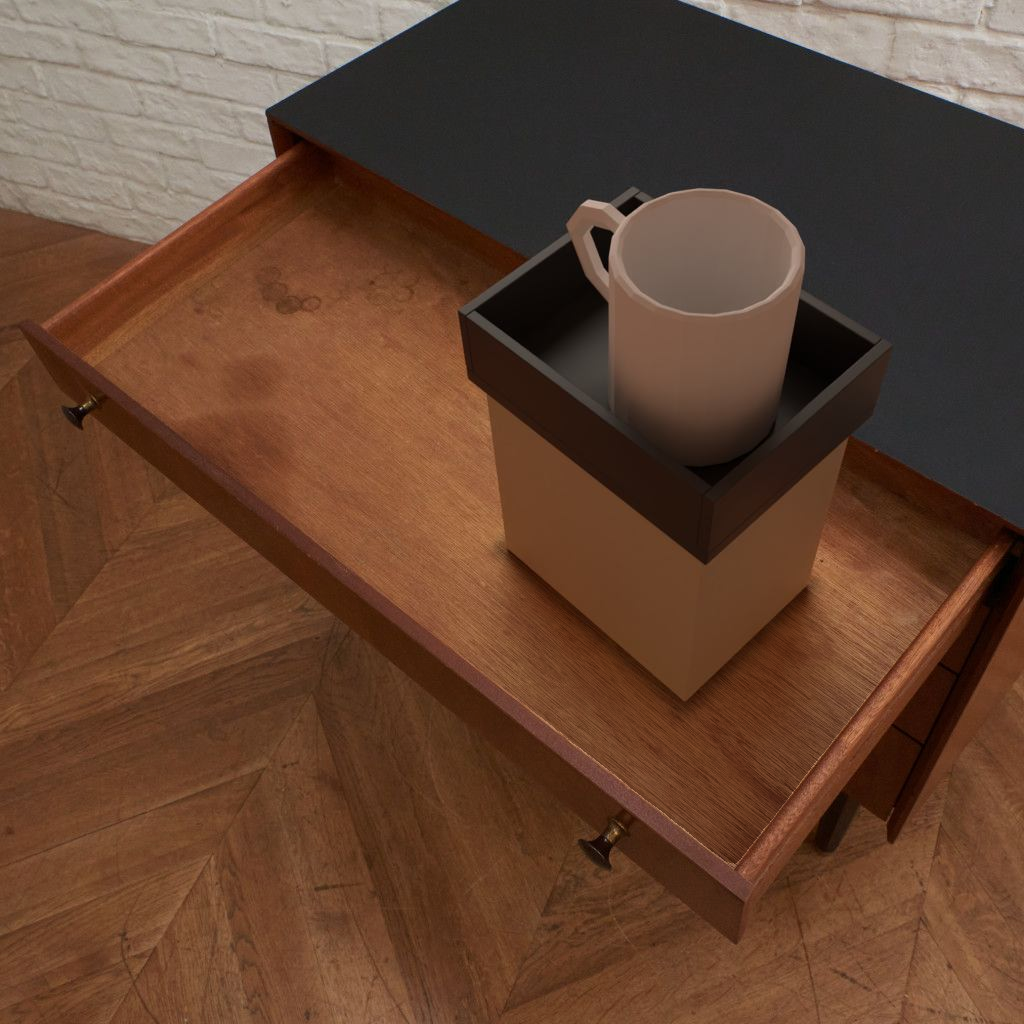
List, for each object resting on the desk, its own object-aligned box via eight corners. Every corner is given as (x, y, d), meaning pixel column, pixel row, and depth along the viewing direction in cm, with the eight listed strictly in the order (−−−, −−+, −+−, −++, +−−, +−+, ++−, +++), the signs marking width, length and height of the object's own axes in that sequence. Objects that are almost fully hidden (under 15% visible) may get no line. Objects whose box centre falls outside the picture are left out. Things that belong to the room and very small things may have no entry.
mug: (625, 282, 61) (627, 125, 53) (810, 397, 56) (845, 242, 48) (518, 367, 58) (504, 215, 50) (703, 497, 53) (720, 350, 45)
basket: (873, 415, 56) (894, 344, 52) (705, 566, 52) (714, 503, 48) (631, 258, 63) (633, 185, 59) (467, 379, 59) (456, 310, 55)
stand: (808, 584, 69) (855, 415, 56) (684, 702, 65) (704, 550, 52) (627, 448, 76) (631, 268, 63) (506, 547, 72) (483, 379, 59)
